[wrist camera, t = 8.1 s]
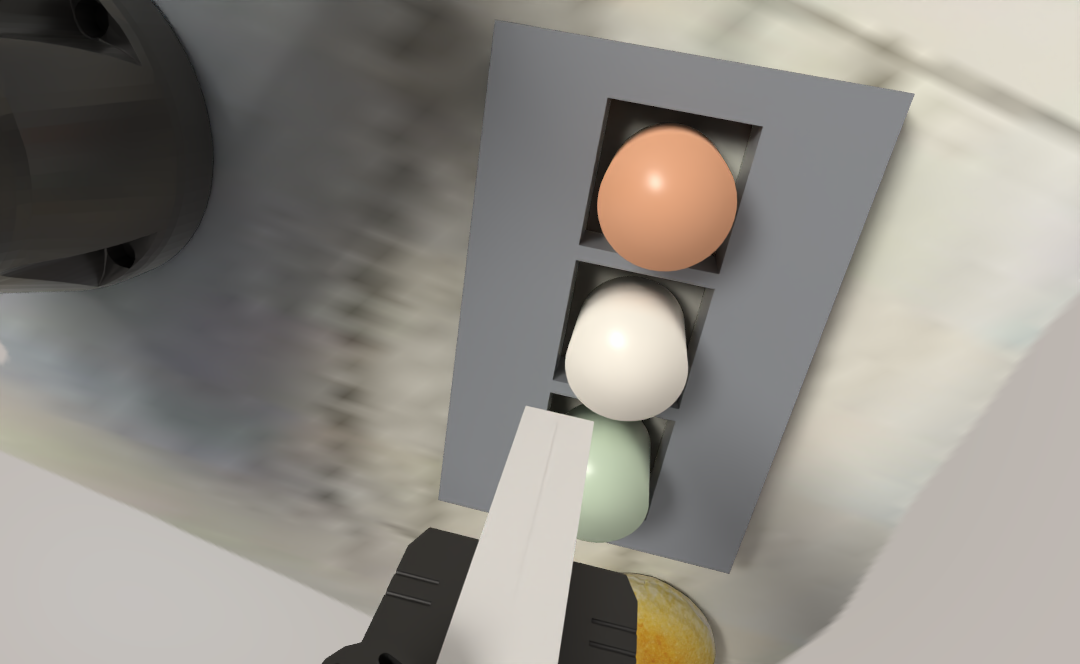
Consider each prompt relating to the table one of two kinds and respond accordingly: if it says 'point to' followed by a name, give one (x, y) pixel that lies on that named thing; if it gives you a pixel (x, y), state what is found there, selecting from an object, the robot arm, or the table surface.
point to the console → (728, 277)
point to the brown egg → (667, 198)
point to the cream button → (628, 350)
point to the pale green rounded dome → (614, 478)
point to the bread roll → (669, 625)
